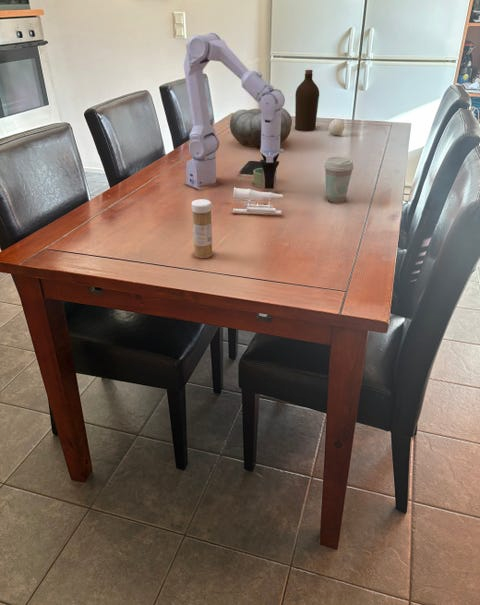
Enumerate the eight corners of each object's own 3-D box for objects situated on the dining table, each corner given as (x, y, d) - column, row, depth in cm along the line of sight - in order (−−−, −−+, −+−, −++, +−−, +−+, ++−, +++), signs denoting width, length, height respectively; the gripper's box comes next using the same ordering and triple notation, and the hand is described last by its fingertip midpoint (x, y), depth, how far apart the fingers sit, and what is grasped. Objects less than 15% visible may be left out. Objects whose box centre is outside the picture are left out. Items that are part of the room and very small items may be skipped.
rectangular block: (275, 195, 159) (276, 171, 155) (262, 194, 159) (262, 171, 155) (275, 193, 161) (276, 169, 157) (262, 192, 161) (263, 169, 157)
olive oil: (297, 132, 230) (301, 72, 217) (290, 127, 239) (293, 68, 226) (319, 131, 232) (324, 71, 219) (312, 125, 241) (316, 68, 228)
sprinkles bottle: (203, 249, 126) (201, 197, 119) (216, 254, 123) (215, 201, 116) (190, 255, 123) (187, 202, 116) (203, 261, 120) (200, 207, 113)
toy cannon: (281, 219, 147) (281, 212, 141) (233, 217, 148) (231, 210, 143) (283, 194, 148) (283, 186, 143) (236, 192, 150) (234, 184, 145)
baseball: (343, 133, 228) (344, 117, 225) (343, 137, 222) (345, 121, 218) (327, 132, 229) (329, 117, 225) (327, 136, 223) (329, 120, 219)
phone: (269, 162, 186) (260, 174, 173) (269, 165, 186) (260, 177, 174) (248, 160, 187) (238, 172, 175) (248, 163, 188) (238, 175, 176)
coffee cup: (328, 205, 151) (332, 165, 145) (317, 196, 158) (320, 157, 152) (354, 203, 153) (359, 163, 147) (342, 193, 160) (346, 155, 154)
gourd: (290, 147, 197) (285, 100, 190) (228, 155, 203) (221, 109, 196) (295, 138, 219) (291, 96, 212) (239, 146, 225) (233, 104, 218)
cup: (262, 189, 164) (263, 175, 162) (249, 184, 168) (249, 170, 166) (277, 184, 168) (277, 171, 165) (263, 180, 172) (263, 166, 170)
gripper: (284, 140, 144) (282, 187, 151) (284, 129, 156) (282, 172, 164) (259, 140, 145) (258, 186, 152) (261, 128, 157) (260, 172, 164)
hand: (269, 179), depth 158 cm, fingers open, 7 cm apart
